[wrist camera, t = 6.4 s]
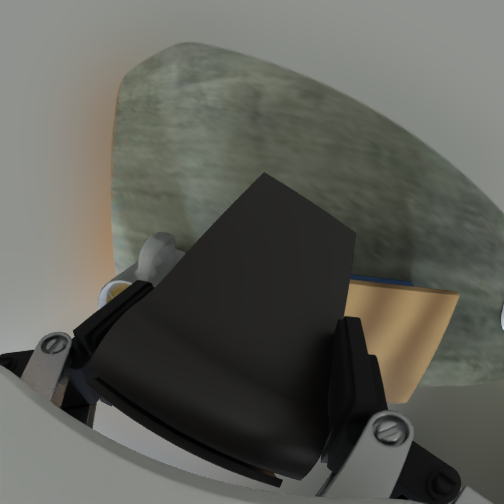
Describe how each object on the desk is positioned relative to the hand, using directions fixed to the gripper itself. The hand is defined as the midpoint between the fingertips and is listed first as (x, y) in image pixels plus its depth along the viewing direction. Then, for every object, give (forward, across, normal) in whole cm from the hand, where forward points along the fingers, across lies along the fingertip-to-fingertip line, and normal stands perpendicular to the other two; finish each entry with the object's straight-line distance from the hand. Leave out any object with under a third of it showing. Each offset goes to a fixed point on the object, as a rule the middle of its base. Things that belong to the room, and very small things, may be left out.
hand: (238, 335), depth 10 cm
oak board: (+15, -9, +12) cm, 21 cm away
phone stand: (+7, 0, 0) cm, 7 cm away
